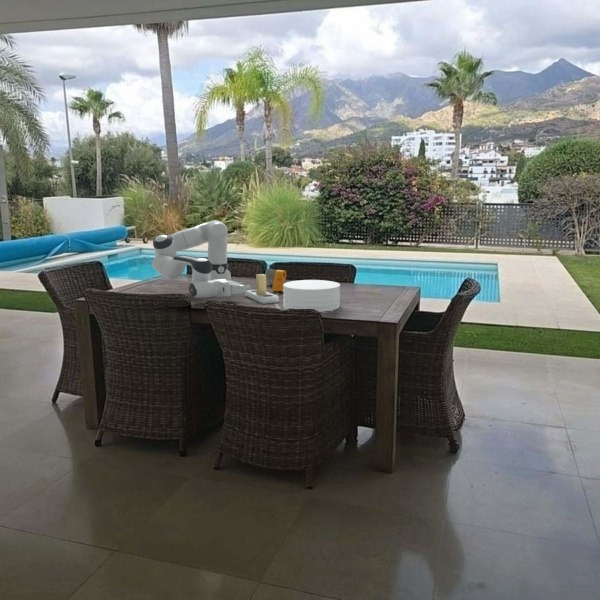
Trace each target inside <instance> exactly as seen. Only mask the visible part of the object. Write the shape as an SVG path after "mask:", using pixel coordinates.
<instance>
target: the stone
mask: <svg viewBox="0 0 600 600" xmlns="http://www.w3.org/2000/svg"><path fill="white" fill-rule="evenodd" d="M276 270H277V269H271V268H266V269H265V275H266V284H268V285H270V286H273V281H274V275H275V271H276ZM284 282H285V283H286V279H285V280H284Z"/></svg>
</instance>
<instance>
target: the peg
mask: <svg viewBox="0 0 600 600" xmlns="http://www.w3.org/2000/svg"><path fill="white" fill-rule="evenodd" d="M255 276H256V278H255V280H256V281H255V282H256V286H255V287H256V289H255V290H256V292H257V294H258V295H261V294H266V292H267V282H266V273H265V274H264V273H259V274H258V273H257V274H255Z"/></svg>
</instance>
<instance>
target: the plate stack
mask: <svg viewBox="0 0 600 600" xmlns="http://www.w3.org/2000/svg"><path fill="white" fill-rule="evenodd" d="M283 288H284V289H283V292H282V293H283V296H282V297H283V301H282V302H283V309H284V310H286V309H288V308H294V309H315V310H318V311H328V310H334V309H337V308H339V307H340V308H341V304H340V303H341V294H340V293H341V289H340V288H341V284H340V283H339V282H336V281H331V280H324V279H323V280H321V279H303V280H302V279H300V280H292V281H291V280H290V281H287V282H285V283H284V284H283ZM340 308H339V309H340Z"/></svg>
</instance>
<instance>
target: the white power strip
mask: <svg viewBox="0 0 600 600" xmlns="http://www.w3.org/2000/svg"><path fill="white" fill-rule="evenodd" d="M244 296H245V297H247V298H249V299H251V300H254V301H256V302H258V303H260V304H263V305H264V304H274V303H279V302H280V297H279V296H278V295H276V294H273V293H272V292H271V293H270V292H269V291H266V294H261V295H258V294H257V292H256V289H247V290H245V292H244Z"/></svg>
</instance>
